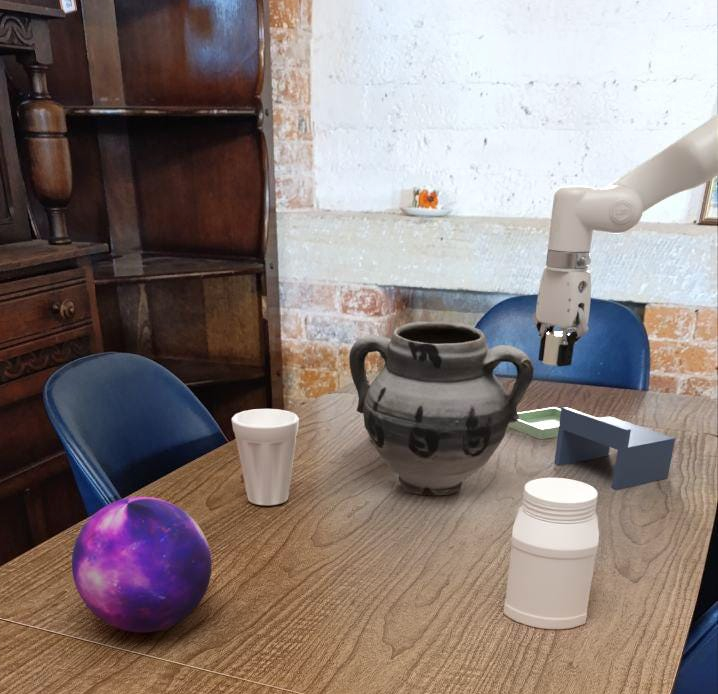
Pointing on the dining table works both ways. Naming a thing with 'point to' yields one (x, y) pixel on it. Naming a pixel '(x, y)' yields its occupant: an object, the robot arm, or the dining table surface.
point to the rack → (634, 444)
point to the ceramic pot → (437, 401)
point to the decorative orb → (141, 564)
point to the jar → (552, 554)
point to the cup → (266, 452)
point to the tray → (538, 423)
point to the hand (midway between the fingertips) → (554, 361)
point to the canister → (552, 347)
